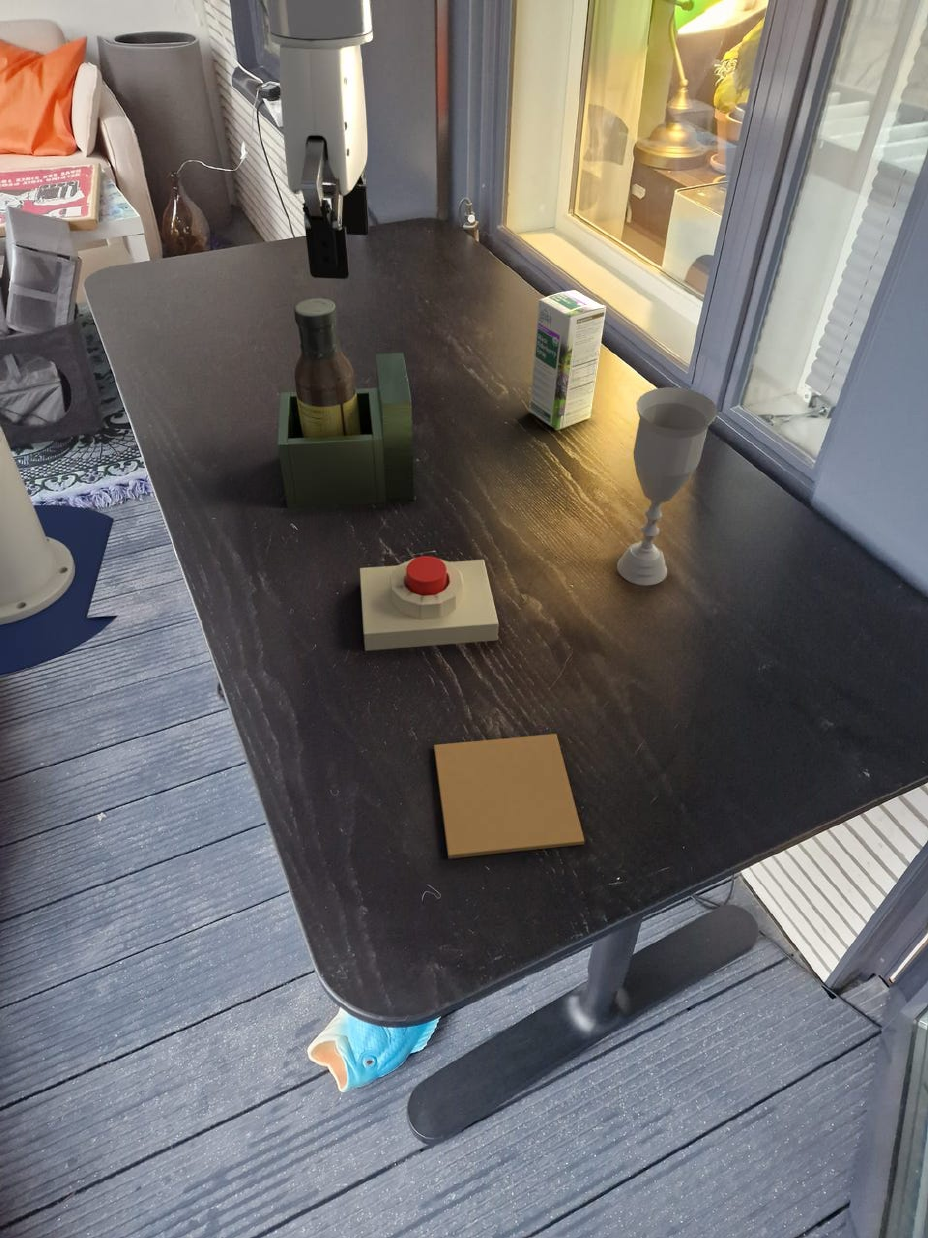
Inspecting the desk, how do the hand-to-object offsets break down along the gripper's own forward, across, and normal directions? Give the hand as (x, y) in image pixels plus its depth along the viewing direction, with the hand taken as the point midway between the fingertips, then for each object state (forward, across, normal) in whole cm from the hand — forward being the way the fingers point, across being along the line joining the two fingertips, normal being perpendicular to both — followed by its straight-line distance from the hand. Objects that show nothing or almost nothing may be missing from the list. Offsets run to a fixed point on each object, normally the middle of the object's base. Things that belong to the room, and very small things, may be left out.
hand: (341, 254), depth 74 cm
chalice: (+27, +8, +29) cm, 41 cm away
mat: (+26, +36, +17) cm, 48 cm away
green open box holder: (+27, -5, -2) cm, 27 cm away
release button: (+23, +16, +9) cm, 30 cm away
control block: (+26, +16, +9) cm, 32 cm away
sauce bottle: (+27, -4, -4) cm, 27 cm away
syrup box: (+27, -21, +21) cm, 40 cm away
